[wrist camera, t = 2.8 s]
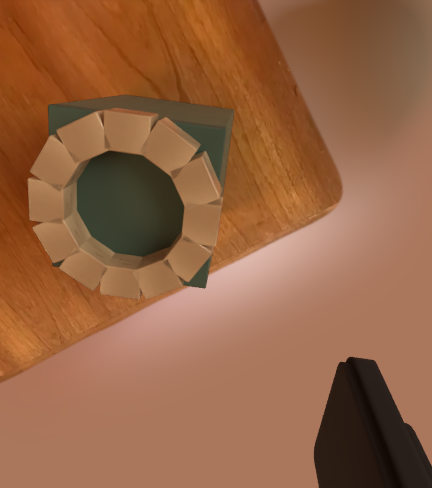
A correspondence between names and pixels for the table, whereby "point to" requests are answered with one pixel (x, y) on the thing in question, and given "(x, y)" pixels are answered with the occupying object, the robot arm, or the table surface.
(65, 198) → the ring
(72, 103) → the block
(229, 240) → the table surface
